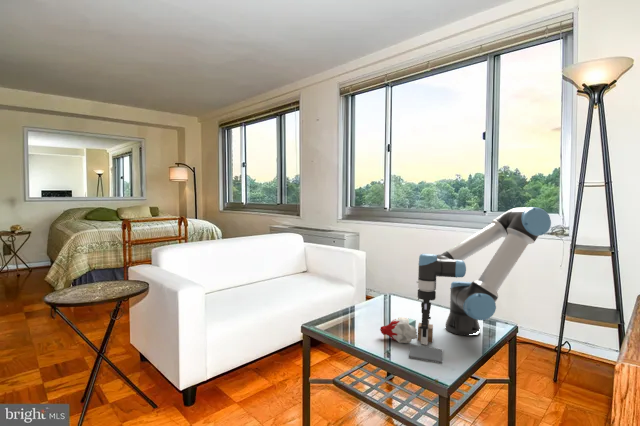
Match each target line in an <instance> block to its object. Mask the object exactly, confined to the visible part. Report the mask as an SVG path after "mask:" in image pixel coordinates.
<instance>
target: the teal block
mask: <svg viewBox="0 0 640 426" xmlns="http://www.w3.org/2000/svg"><path fill="white" fill-rule="evenodd" d="M408 319H409V325H411V326H413V327H415V328H416V329H417V327H416V326H417V325H416V321H417V320H416V319H412V318H408Z"/></svg>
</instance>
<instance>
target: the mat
mask: <svg viewBox="0 0 640 426" xmlns="http://www.w3.org/2000/svg"><path fill="white" fill-rule="evenodd" d="M408 359H413V360H418V361H425V362H432V363H435V364H441V365H442V364H443V349H442V348H437V347H430V346H423V345H416V344H411V345H410V348H409V352H408Z"/></svg>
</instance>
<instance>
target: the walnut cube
mask: <svg viewBox="0 0 640 426" xmlns="http://www.w3.org/2000/svg"><path fill="white" fill-rule="evenodd" d="M420 326H422V322H418V325H417V341H418V342H419V341H420V342H421V329H420ZM423 326H426V325H423ZM433 332H434V324H431V323H429V324H428V343H431V344H432V343H433V337H434V336H433V335H434V333H433Z"/></svg>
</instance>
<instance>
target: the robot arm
mask: <svg viewBox="0 0 640 426" xmlns="http://www.w3.org/2000/svg"><path fill="white" fill-rule="evenodd" d="M551 226H552V221H551V216H550V214H549V212H547V211H546V210H545V209H543V208H541V207H535V206H528V207H525V206H524V207H523V206H519V207H514V208H511V209H508V210H507V211H505V212H504V213H502V214H501V215H499V216H497V217H496V218H494V219H493V220H492V221H491V223H490V224H488V225H487V226H485V227H484V228H482V229H481V230H479V231H477V232H476V233H474V234H472V235H471V236H469V237H467V238H466V239H464V240H463V241H461V242H459V243H458V244H455V245H454V246H453V247H451V248H449V249H448V250H446V251H444V252H443V253H440V254H435V253H420V254H419V257H418V272H417V273H418V277H417V278H418V279H417V281H416V284H417V288H418V289H417V298H418V299H419V300H423V301H421V303H420V304H421V306H420V307H421V312H420V313H421V323H422V326H420V329H421V341H420V345H426V346H428V343H429V342H428V324H430V320H431V319H432V316H430V314H431V308H432V302H430V301H435V300H436V298H437V295H436V294H437V293H436V290H437V277H438V278H439V277H442V278H443V277H445V278H456V279H457V278H463V277H464V278H465V275H466V272H467V266H466V262H465V261H464V260H467V259H469V257H471V256H473V255H475V254H476V253H478V252H479V251H482V250H483V249H485V248H486V247H488V246H490V245H491V244H493V243H495V242H497V241H498V240H499V239H501V238H504V239H503V241H502V242H501V244H500V245H499V247H498V249H497V250H496V251H495V254H494V255H493V257H491V260H490V261H489V263H488V264H487V265H486V267H485V269H484V271H483V272H482V273H481V275H480V277H478V279H476V280H473V281H458V280H457V281H455V280H454V281H452V282H451V283H450V288H449V289H450V294H449V296H450V299H449V300H450V301H449V314H448V317H447V319H446V322H445V327H446V328H445V329H446V331H448V332H449V333H451V334H454V335H458V334H459V336H463V335H469V334H473V333H476V332H477V331H479V329H480V330H481V327H480V323H479V321H485V320H488V319H490V318H492V317H493V316H494V315H495V312H496V311H497V310H496V309H497V305H496V302H497V300H498V299H499V293H498V291H499V289H500V288H501V287H502V285H503V284H504V282H505V280H506V279H507V277H508V276H509V274H510V272H511V271H512V270H513V268H514V266H515V265H516V263H517V262H518V260H519V259H520V258H521V256H522V255H523V253H524V252H525V250H526V248H527V247H528V246H529V245H531V244H534V243H535V242H536V241H537V240H538V238H539V236H543V235H545V234H547V233H548V232H549V231H550V228H551ZM423 325H426V326H423Z"/></svg>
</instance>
